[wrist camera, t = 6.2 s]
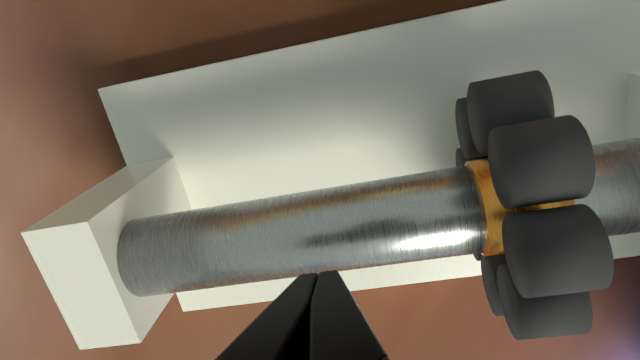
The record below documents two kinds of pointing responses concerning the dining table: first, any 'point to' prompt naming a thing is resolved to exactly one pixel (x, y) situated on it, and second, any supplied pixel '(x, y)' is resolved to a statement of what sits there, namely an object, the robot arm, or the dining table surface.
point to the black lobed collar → (535, 189)
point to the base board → (323, 138)
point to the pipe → (352, 226)
